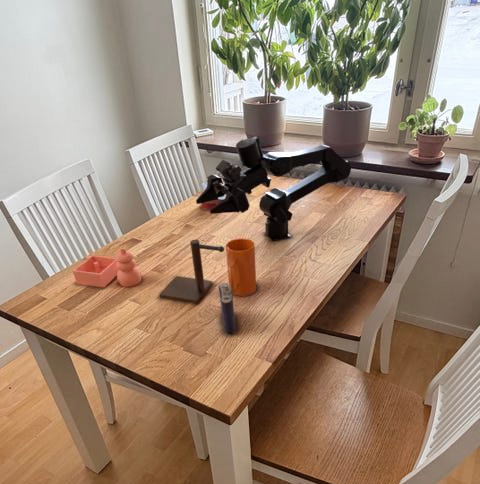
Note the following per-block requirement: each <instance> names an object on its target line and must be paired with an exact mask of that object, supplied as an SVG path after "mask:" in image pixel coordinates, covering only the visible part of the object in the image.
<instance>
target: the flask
mask: <svg viewBox="0 0 480 484" xmlns="http://www.w3.org/2000/svg"><path fill="white" fill-rule="evenodd" d="M218 290H219V291H218V292H219V301H220V311H221V318H222V323H223V325H224V333H225V334H227V335H228V336H230V335H234V334H235V333H236V331H237V329H236V328H237V326H236V319H235V309H234V307H235V306H234V294H232V291H231V288H230V285H229V283H227V282H220V283H219V284H218Z"/></svg>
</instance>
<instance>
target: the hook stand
mask: <svg viewBox="0 0 480 484" xmlns="http://www.w3.org/2000/svg"><path fill="white" fill-rule="evenodd" d="M190 250H191V259H192V266H193V272H194V278H193V277H186V276H180V275H175V276H174V277H173V279H172V280H171V281H170V282H169V283H168V284H167V285H166V286H165V287H164V289H162V290H161V292H160V293H158V295H159V298H160V299H167V300H172V301H173V300H174V301H178V302H186V303H191V304H198V303H199V302H200V300H201V299H202V298H203V297H204V296H205V294H206V292H207V291H208V290H209V289H210V287H211V286H212V285H213V282H212V280H208V279H207V280H206V279H205V278H204V270H203V261H202V253H201V250H210V251H216V252H217V251H218V252H219V253H223V252H224V251H225V247H224V246H223V245H219V246H216V245H210V244H209V245H208V244H200V240H199V239H191V240H190Z"/></svg>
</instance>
